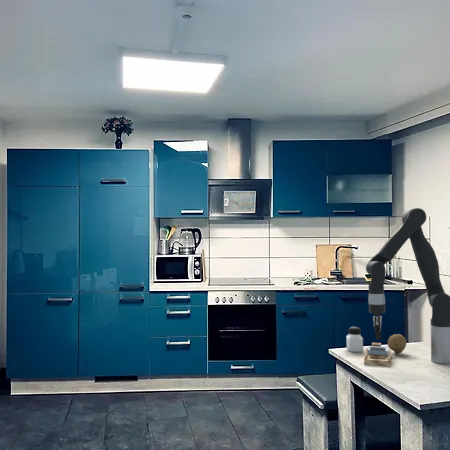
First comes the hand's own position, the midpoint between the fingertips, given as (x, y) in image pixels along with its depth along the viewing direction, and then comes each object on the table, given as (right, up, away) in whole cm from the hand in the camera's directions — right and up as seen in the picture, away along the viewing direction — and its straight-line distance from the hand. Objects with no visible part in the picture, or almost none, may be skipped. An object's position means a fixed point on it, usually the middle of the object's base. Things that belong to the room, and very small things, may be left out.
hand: (378, 339), depth 232 cm
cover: (+2, -8, +7) cm, 11 cm away
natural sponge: (+15, -12, +16) cm, 25 cm away
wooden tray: (+1, -11, +4) cm, 12 cm away
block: (+5, -12, +20) cm, 23 cm away
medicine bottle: (-5, -12, +24) cm, 27 cm away
